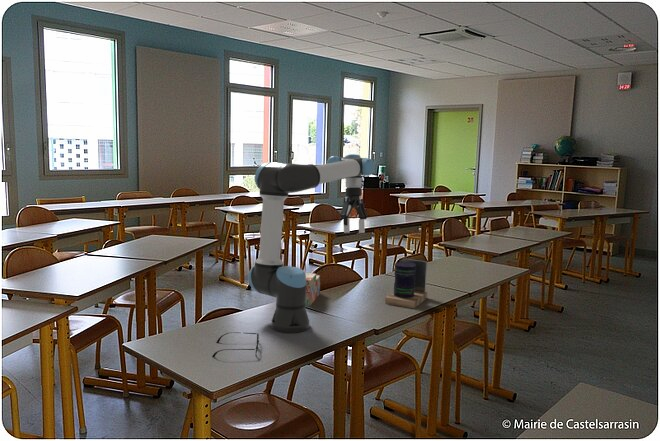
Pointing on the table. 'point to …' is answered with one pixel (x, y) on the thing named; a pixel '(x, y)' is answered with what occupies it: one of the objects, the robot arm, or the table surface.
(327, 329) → the table surface
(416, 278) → the bookend
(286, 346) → the table surface
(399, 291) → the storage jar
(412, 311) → the table surface
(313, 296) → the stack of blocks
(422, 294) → the slatted wooden block
